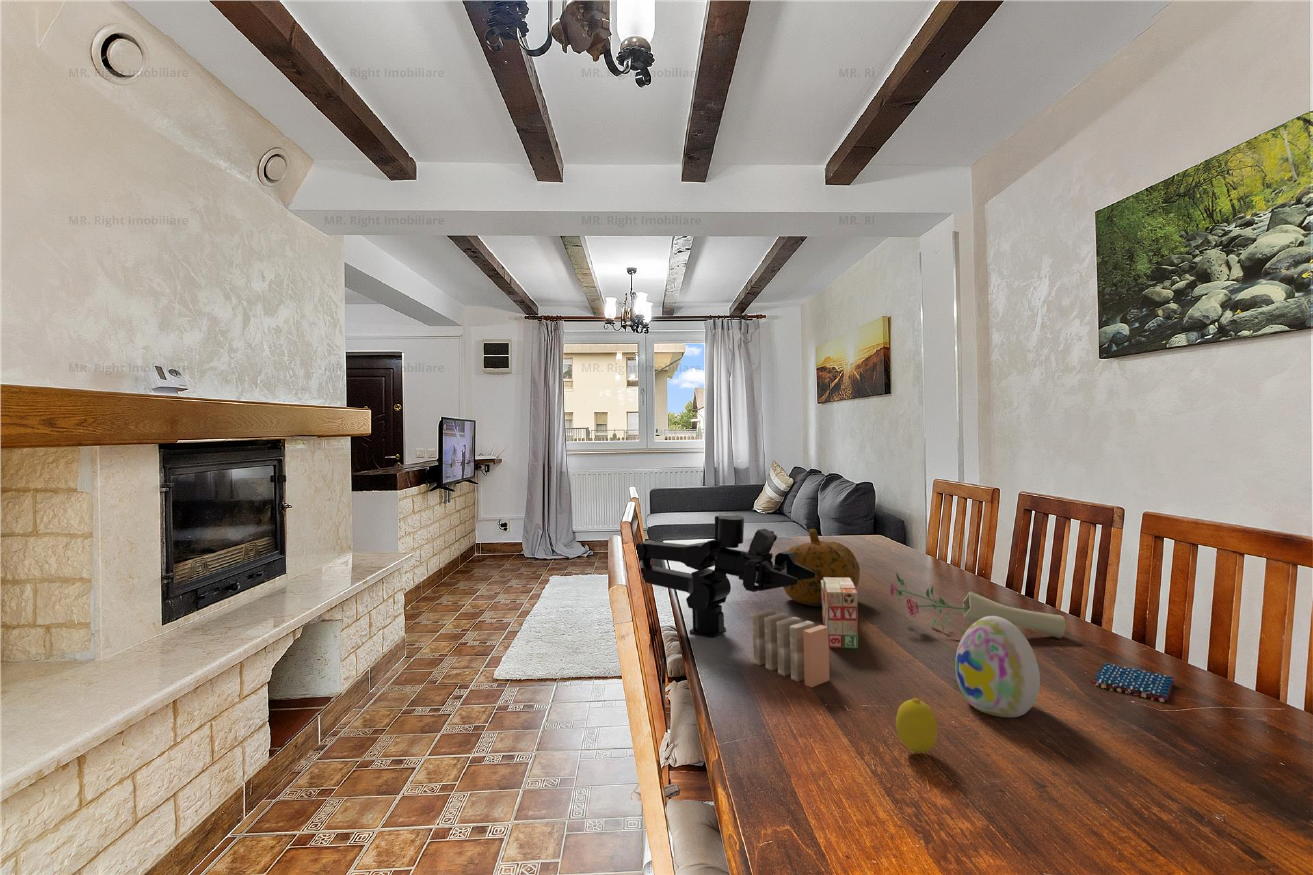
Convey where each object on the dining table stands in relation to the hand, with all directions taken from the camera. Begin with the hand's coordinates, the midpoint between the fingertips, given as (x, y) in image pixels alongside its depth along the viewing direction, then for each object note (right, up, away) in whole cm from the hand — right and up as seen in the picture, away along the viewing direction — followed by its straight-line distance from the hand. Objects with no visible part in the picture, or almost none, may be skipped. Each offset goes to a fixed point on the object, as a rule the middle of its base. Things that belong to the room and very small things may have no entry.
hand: (806, 578), depth 126 cm
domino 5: (-1, -16, -14) cm, 21 cm away
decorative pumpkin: (+13, -15, +37) cm, 42 cm away
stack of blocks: (+11, -16, +13) cm, 23 cm away
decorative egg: (+25, -16, -25) cm, 39 cm away
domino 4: (-3, -16, -11) cm, 20 cm away
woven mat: (+53, -15, -19) cm, 58 cm away
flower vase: (+40, -15, +9) cm, 43 cm away
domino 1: (-9, -16, -3) cm, 19 cm away
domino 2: (-7, -16, -5) cm, 18 cm away
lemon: (+6, -16, -38) cm, 42 cm away
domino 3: (-5, -16, -8) cm, 19 cm away
